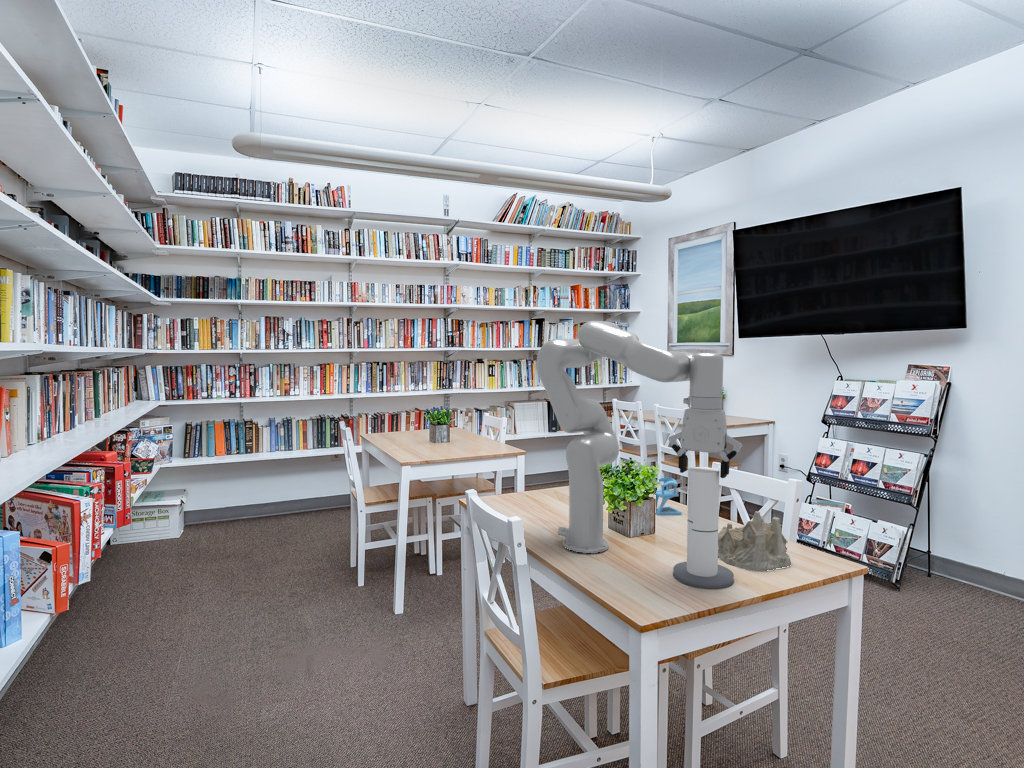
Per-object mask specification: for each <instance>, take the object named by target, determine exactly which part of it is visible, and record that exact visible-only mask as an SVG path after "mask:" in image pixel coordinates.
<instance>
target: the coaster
mask: <svg viewBox="0 0 1024 768" xmlns="http://www.w3.org/2000/svg"><path fill="white" fill-rule="evenodd" d="M672 568H673V569H672V572H673V573H672V574H673V575H672V576H673V578H674V579H675V580H676V581H677V582H680V583H681V584H683V585H686V586H690V587H693V588H698V589H706V590H720V589H725V588H726V589H727V588H728V587H731V586H732V585H734V583H735V582H734V579H735V578H734V577H735V575H734V573H733V571H732V570H731V569H730V568H728V567H726V566H723V565H720V564H718V573H717V575H715V576H712V577H702V576H696V575H693V574H691V573H689V572H688V571H687V561H683V562H682V561H681V562H679V563H676V564H675V565H673V567H672Z"/></svg>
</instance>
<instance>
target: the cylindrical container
mask: <svg viewBox="0 0 1024 768" xmlns="http://www.w3.org/2000/svg"><path fill="white" fill-rule="evenodd" d="M687 471H688V472H687V473H688V474H687V530H686V531H687V532H686V533H687V535H686V536H687V537H686V538H687V539H686V544H687V545H686V546H687V547H686V562H687V571H688V572H689V573H691V574H693V575H696V576H702V577H712V576H715V575H717V573H718V565H719V556H718V534H719V522H720V521H719V520H720V519H719V518H720V517H719V515H720V514H719V513H720V512H719V510H720V509H719V508H720V469H718V468H714V467H707V466H693V467H688V468H687Z"/></svg>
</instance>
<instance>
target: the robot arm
mask: <svg viewBox="0 0 1024 768" xmlns="http://www.w3.org/2000/svg"><path fill="white" fill-rule="evenodd" d="M536 356H537V357H536V371H537V374H538V377H539V380H540V382H541V384H542V386H543V388H544V390H545V392H546V394H547V397H548V399H549V402H550V405H551V408H552V410H553V412H554V414H555V418H556V420H557V422H558V426H559V427H560V429H561V430H562V431H563V432H565V433H567V434H579V433H583V435H581V436H579V435H578V436H577V437H575V438H573V439H572V440H571V441H570V442H569V444H567V447H566V450H565V459H566V463H567V464H566V465H567V470H568V481H569V482H568V489H569V491H568V492H569V493H568V494H569V495H568V497H569V498H568V499H569V500H568V503H569V505H568V507H569V508H568V512H569V513H568V514H569V515H568V518H569V519H568V527H563V526H559V527H558V529H557V535H558V536H562V537H565V539H564V540H563V547H564V546H565V547H566V548H568V549H570V550H573V551H577V552H583V553H582V554H586V553H591V554H598V552H600V553H603V552H606V551H607V550H608V549H609V542H608V541H607V540H606V539H604V481H603V477H602V474H601V470H600V467H603V466H608V465H609V464H610V465H611V464H612V463H614V462H615V461H616V460H617V459H618V456H619V452H620V445H619V441H618V439H617V437H616V434H615V432H614V429H613V427H612V424H611V422H610V419H609V417H608V415H607V412H606V410H605V409H604V406H602V405H601V403H600V402H598V401H597V400H595V399H593V398H582V397H581V395H580V393H579V391H578V387H577V385H576V383H575V381H574V379H572V377H571V376H570V375H569V374H568V373H567V371H566V369H575V368H576V369H579V368H584V367H587V366H589V365H591V364H593V363H594V362H596V361H599V360H601V359H603V358H606V359H609V360H612V361H614V362H617V363H620V364H621V365H623V366H624V367H626V368H627V369H629V371H632V372H633V373H636V374H638V375H640V376H643V377H646V378H649V379H651V380H654V381H657V382H660V383H679V382H681V383H682V382H689V396H688V397H685V398H683V404H684V405H685V404H686V405H687V407H688V408H686V409H684V413H683V420H682V425H681V431H680V432H678V433H675V434H673V435H670V436H668V438H667V439H668V441H669V443H670V445H671V449H672V450H673V451H674V452H675V453H676V455H677V457H678V464H677V465H678V466H677V467H678V469H679V473H681V474H683V473H685V472H687V471H688V454H687V452H688V451H689V452H698V453H699V452H700V453H708V454H718V455H719V456H720V458H721V459H722V461H720V470H719V478H721V479H725V478H726V477H728V476H727V475H729V474H730V461H731V459H733V458H734V457H735V456H737V455H738V453H739V452H740V450H741V449H742V447H743V443H741V442H740V441H738V440H737V439H735V438H733V437H731V436H730V435H728V427H727V419H726V418H727V417H726V412H725V410H723V386H724V385H723V383H724V381H723V380H724V357H723V355H722V354H720V353H717V352H697V353H696V352H695V353H693V352H689V351H676V350H675V351H673V350H672V351H671V350H669V351H667V350H664V349H663V350H662V349H659V348H656V347H654V346H650V345H648V344H645V343H643V342H641V341H640V338H639V336H638V334H636V333H633V332H631V331H628V330H625V329H622V328H621V327H620V326H619V325H617V324H616V323H614V322H611V321H606V320H605V321H603V320H590V321H586V322H585V323H583V324H582V325H581V326H580V327H579V328H578V331H577V338H555V339H554V338H553V339H550V340H548V341H547V342H545V343H543V345H542V346H541V347H540V348H539V351H538V353H537V355H536ZM678 439H679V440H680V444H678V442H677V440H678ZM728 444H730V445H731V446H733V449H732V450H731V451H730V452H729V451H727V448H728ZM565 547H564V548H565ZM566 548H565V549H566ZM568 549H567V550H568ZM570 550H569V551H570ZM573 551H572V552H573ZM577 552H576V553H577Z"/></svg>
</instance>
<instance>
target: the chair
mask: <svg viewBox="0 0 1024 768" xmlns="http://www.w3.org/2000/svg"><path fill="white" fill-rule="evenodd" d="M657 480H659V482H658V483H660V482H664V483H663V484H661V485H660V486H661V490H658V489H657V490H656V493H655V495H656V513H655V515H656V516H666V515H667V516H681V515H682V511H681V510H679V509H676V508H674V507H671V506H665V504H666V503H667V501H669V500H670V499H672V498H674V497H675V498H676V497H679V496H680V495H679V493H677V487H678V484H679V483H678V482H677V480H675V479H674V478H673V477H661V478H660V477H659V478H658V479H657ZM669 486H673V487H674V488H673V491H672V490H670V488H669ZM659 498H662V500H661V502H660V504H659V507H658V502H659ZM668 510H669V511H668Z"/></svg>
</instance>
